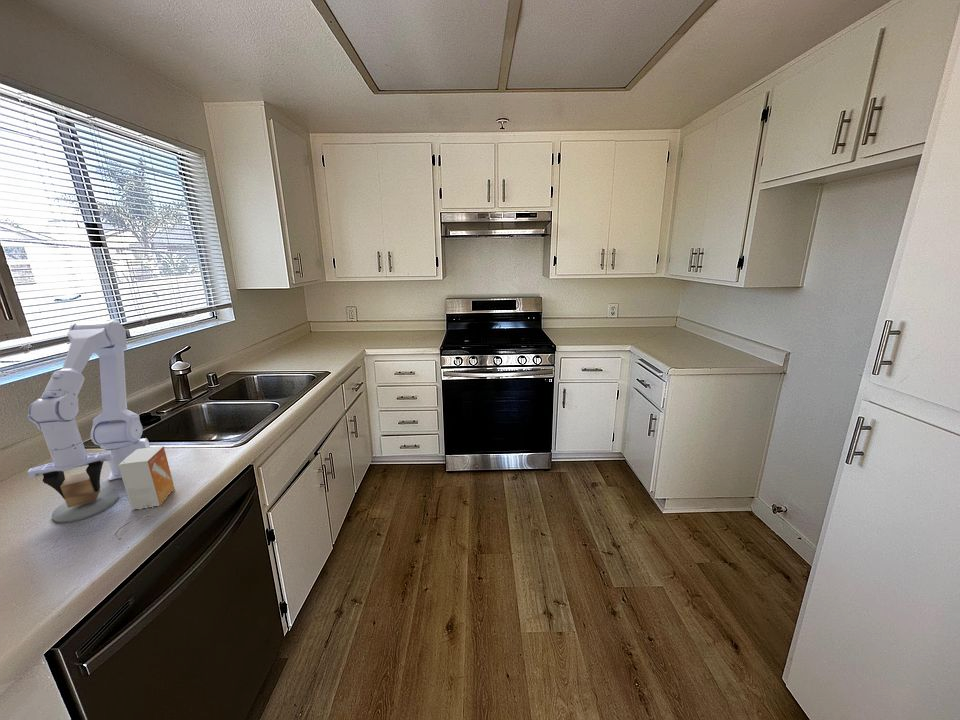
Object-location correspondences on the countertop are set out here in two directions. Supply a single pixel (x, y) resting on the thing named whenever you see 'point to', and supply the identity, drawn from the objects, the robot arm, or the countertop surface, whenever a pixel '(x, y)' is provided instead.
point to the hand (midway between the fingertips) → (82, 493)
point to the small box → (146, 477)
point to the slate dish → (85, 507)
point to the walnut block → (78, 490)
